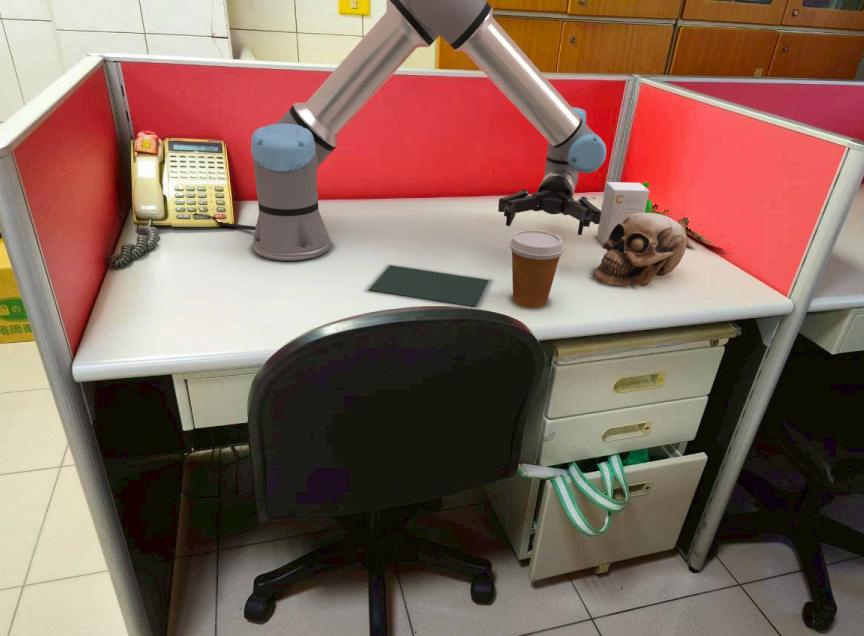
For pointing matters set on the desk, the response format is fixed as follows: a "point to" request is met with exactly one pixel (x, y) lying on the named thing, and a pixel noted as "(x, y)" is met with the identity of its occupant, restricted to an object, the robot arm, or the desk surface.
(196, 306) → the desk surface
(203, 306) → the desk surface
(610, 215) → the small box
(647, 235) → the beige brown skull
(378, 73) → the robot arm
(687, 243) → the brown jagged long piece
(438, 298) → the desk mat
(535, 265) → the disposable coffee cup
